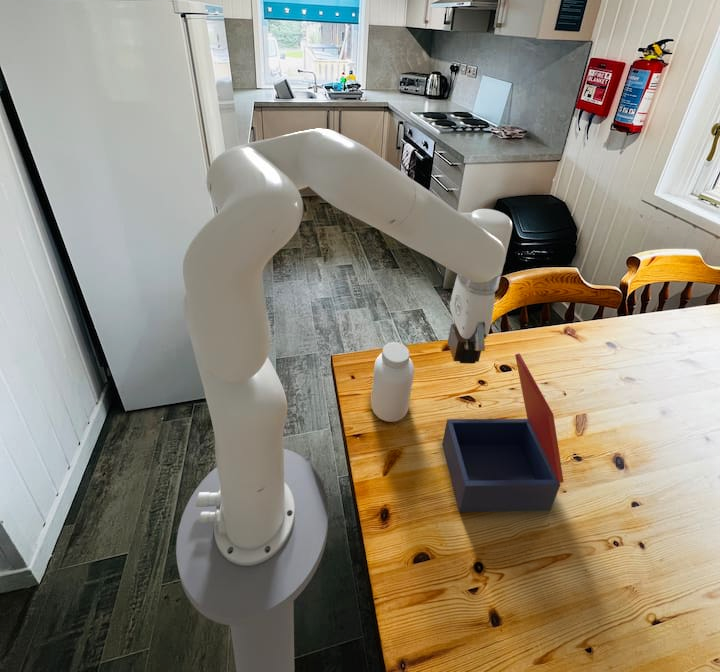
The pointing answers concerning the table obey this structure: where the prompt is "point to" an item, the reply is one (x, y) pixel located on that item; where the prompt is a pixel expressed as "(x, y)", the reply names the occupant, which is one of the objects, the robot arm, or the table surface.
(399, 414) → the pill bottle
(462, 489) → the box
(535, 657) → the table surface
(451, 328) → the block
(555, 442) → the lunchbox lid
